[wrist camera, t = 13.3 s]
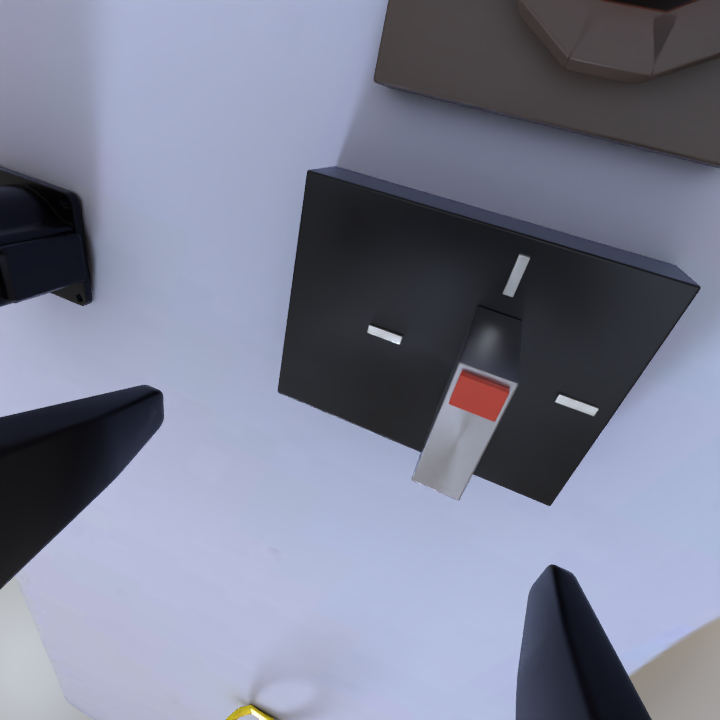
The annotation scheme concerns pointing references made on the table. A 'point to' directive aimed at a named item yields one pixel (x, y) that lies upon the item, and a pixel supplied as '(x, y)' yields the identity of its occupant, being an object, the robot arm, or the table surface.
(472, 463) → the burner knob
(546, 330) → the hob panel
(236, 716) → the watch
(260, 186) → the table surface
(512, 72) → the brown button base
